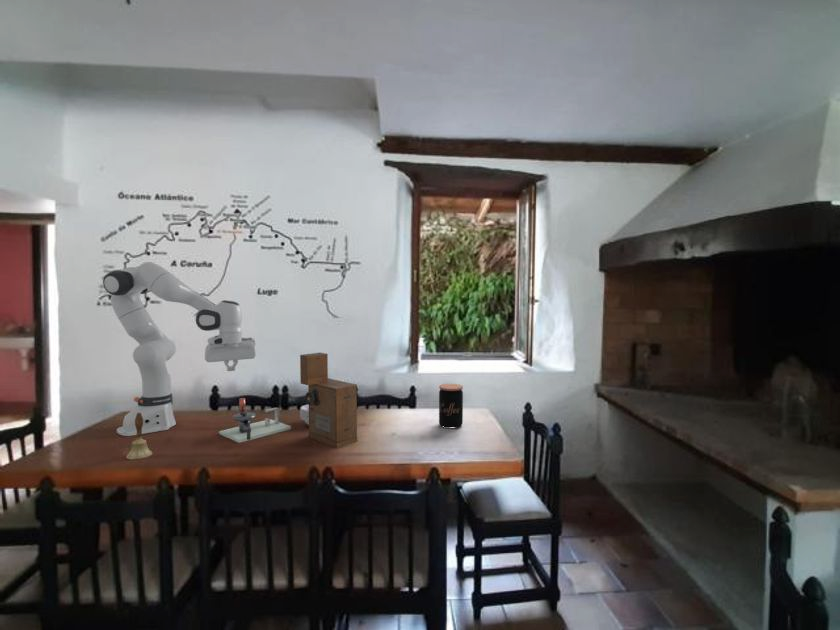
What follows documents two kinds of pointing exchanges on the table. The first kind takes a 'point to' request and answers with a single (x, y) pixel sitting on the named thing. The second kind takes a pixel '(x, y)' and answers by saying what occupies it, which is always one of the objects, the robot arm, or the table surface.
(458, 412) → the coffee jar
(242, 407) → the telegraph key
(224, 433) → the board
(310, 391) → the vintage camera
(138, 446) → the hand bell
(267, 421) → the grey support bracket
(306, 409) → the paper bowls
